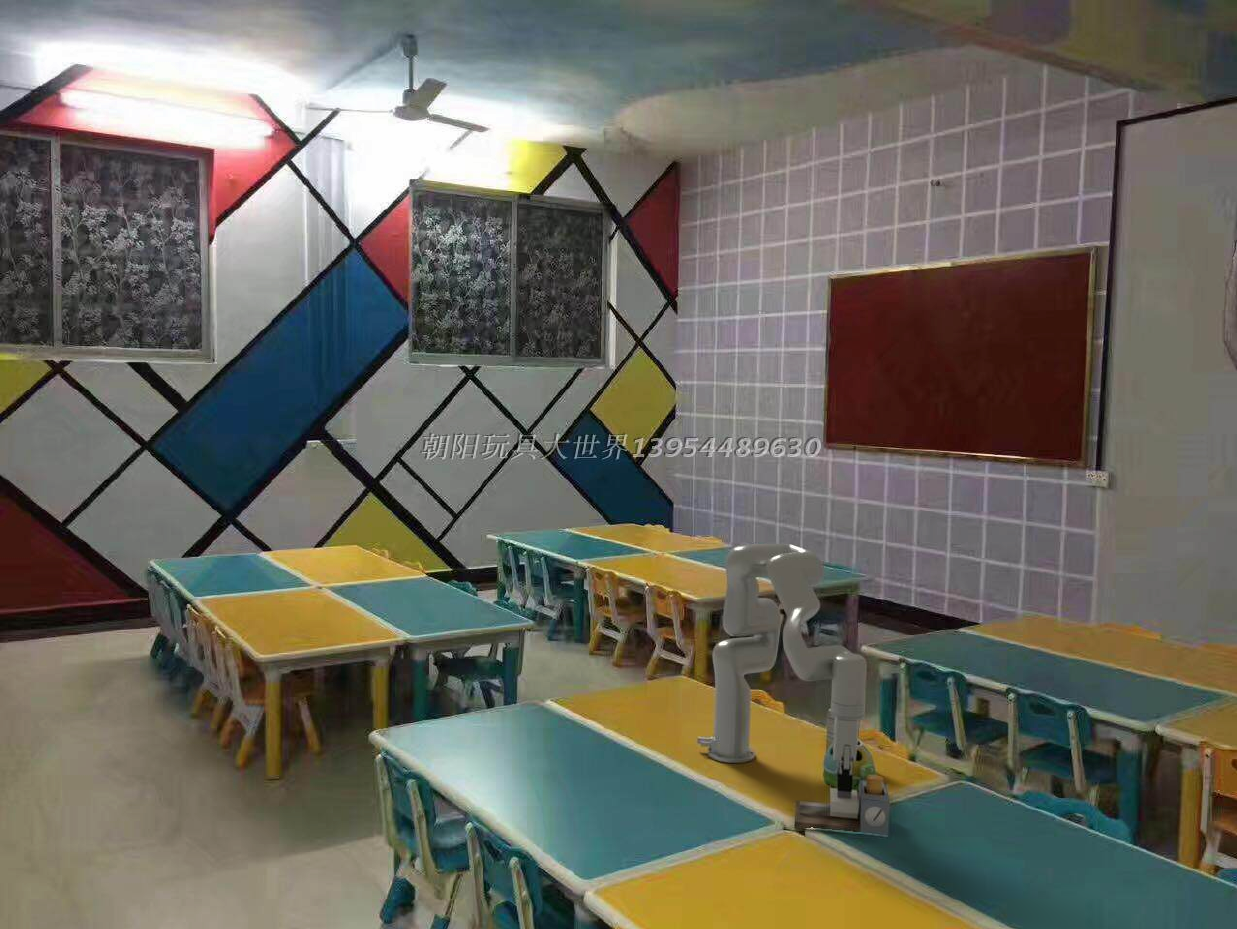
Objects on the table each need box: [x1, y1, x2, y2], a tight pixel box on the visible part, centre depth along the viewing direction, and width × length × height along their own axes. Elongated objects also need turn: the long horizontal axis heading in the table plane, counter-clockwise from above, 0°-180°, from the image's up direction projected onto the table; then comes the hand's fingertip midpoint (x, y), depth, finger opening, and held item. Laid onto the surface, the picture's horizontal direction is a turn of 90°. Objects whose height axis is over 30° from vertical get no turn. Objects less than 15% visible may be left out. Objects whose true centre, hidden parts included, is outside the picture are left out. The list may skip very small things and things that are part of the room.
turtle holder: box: [822, 739, 878, 793], centre depth 255 cm, size 12×18×12 cm
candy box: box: [825, 708, 861, 753], centre depth 273 cm, size 9×4×15 cm, turn 129°
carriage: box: [829, 763, 859, 818], centre depth 237 cm, size 6×8×11 cm
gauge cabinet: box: [858, 780, 891, 836], centre depth 236 cm, size 6×12×8 cm, turn 169°
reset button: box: [866, 774, 884, 795], centre depth 235 cm, size 4×4×4 cm
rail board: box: [793, 800, 861, 832], centre depth 238 cm, size 14×12×4 cm
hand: (844, 787), depth 237 cm, fingers closed on carriage, 3 cm apart
